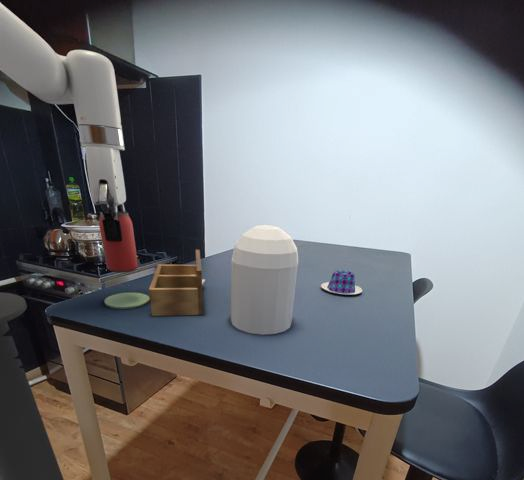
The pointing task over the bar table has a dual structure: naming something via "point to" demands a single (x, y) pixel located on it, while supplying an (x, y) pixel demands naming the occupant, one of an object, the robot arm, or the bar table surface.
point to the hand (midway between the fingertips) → (117, 237)
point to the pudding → (342, 283)
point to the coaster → (126, 300)
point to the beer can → (120, 246)
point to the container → (263, 280)
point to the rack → (177, 289)
